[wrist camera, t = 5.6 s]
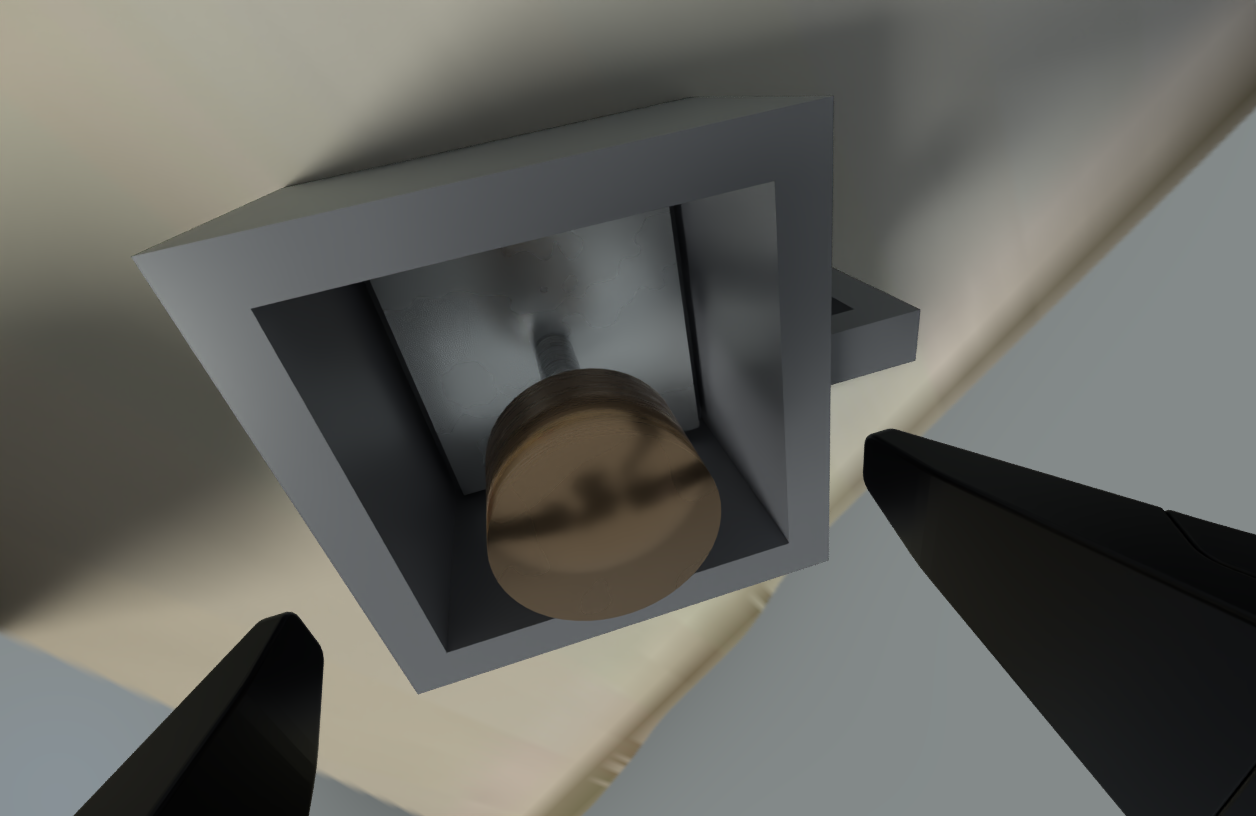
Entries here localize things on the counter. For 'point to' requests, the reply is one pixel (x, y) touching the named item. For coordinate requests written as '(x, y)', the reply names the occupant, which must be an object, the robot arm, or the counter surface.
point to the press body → (502, 216)
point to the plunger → (567, 410)
